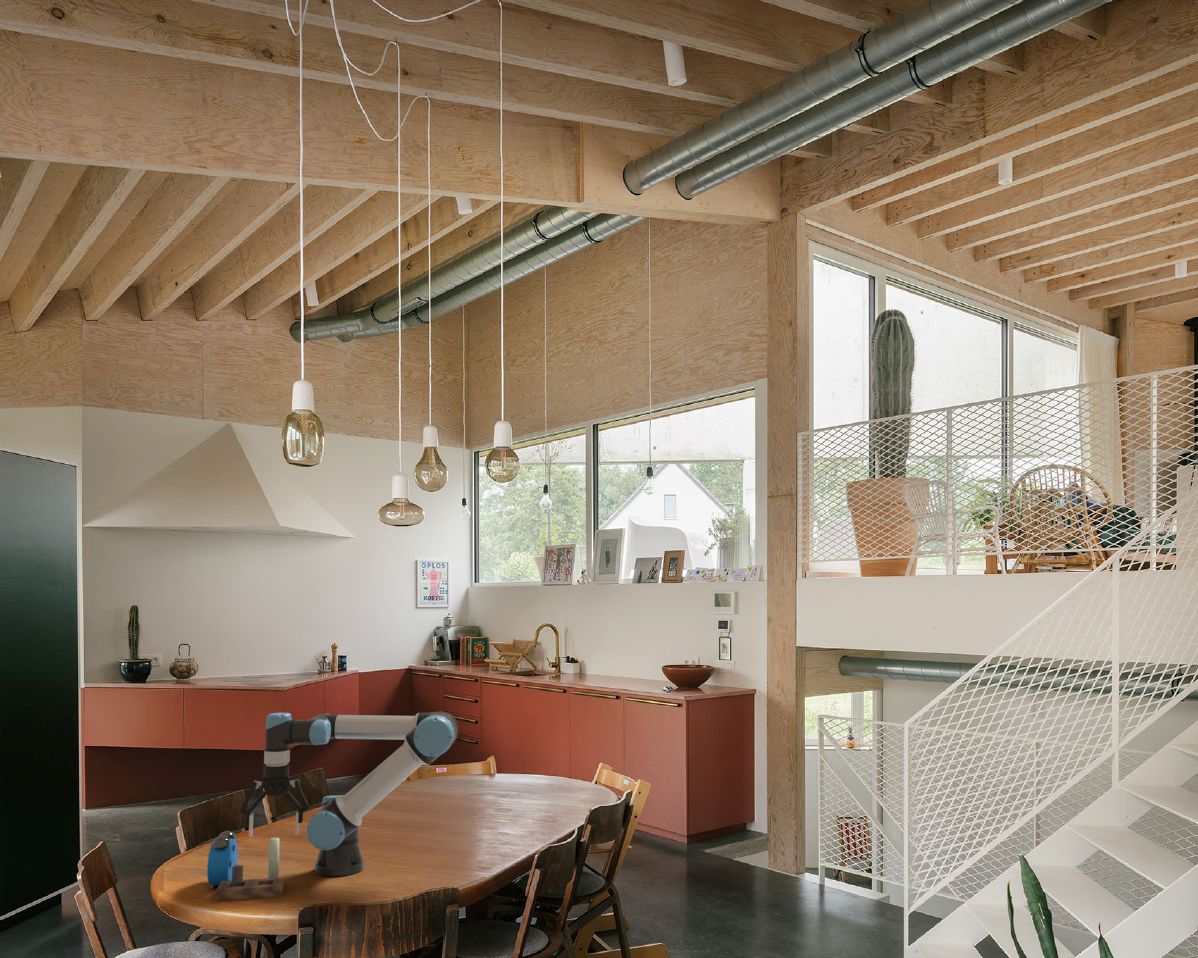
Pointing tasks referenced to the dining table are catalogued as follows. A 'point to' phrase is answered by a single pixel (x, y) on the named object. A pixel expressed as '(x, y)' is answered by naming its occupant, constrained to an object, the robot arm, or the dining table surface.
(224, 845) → the alarm clock
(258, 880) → the walnut holder
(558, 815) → the dining table surface
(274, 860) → the sage candle
